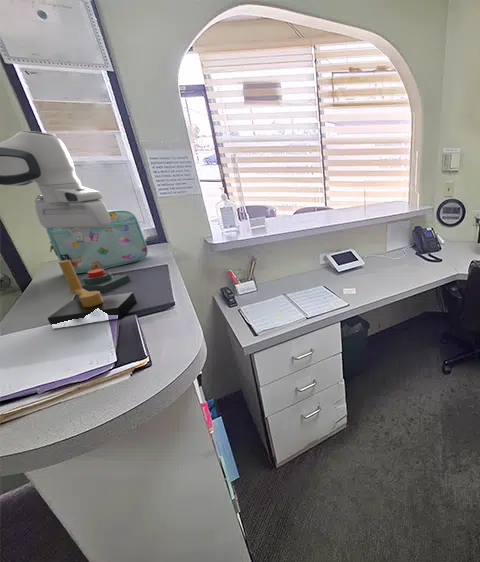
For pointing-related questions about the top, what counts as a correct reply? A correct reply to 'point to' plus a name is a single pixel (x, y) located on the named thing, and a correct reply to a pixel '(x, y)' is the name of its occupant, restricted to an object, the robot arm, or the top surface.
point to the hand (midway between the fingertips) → (84, 241)
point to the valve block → (110, 305)
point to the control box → (103, 282)
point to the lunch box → (102, 244)
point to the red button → (96, 273)
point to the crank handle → (79, 286)
